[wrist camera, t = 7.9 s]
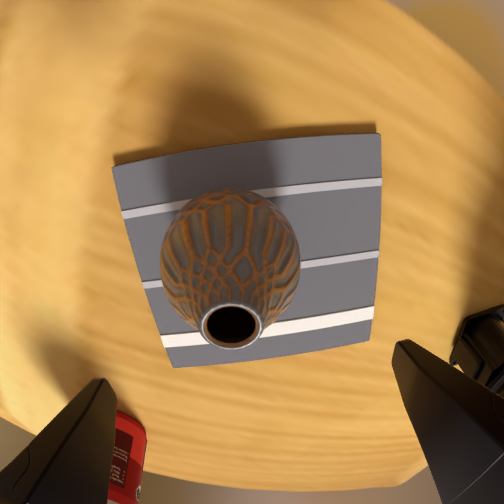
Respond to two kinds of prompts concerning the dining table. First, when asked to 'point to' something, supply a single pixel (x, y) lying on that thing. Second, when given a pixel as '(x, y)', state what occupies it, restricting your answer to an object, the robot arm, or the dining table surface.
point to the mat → (300, 218)
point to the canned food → (127, 461)
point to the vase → (230, 265)
